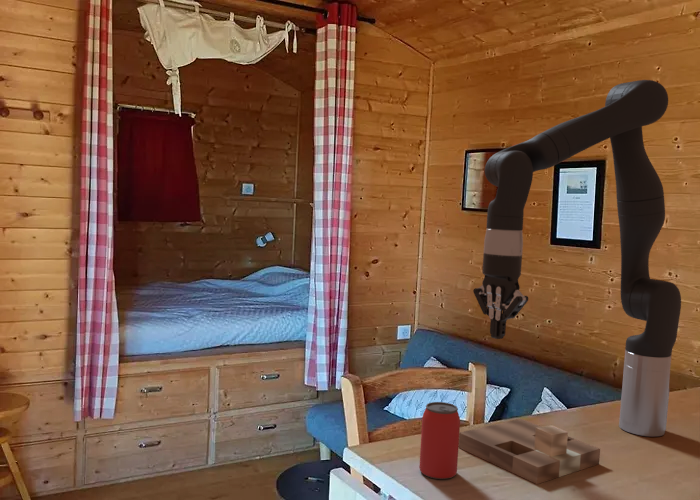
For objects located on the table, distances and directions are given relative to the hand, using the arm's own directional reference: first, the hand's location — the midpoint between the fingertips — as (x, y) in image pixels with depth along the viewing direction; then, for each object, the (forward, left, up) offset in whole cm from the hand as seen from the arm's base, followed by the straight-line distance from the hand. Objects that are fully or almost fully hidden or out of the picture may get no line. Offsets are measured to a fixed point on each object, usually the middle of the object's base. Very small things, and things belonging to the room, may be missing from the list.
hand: (497, 338), depth 134 cm
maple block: (+1, +15, -18) cm, 24 cm away
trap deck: (0, +10, -21) cm, 23 cm away
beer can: (+21, +7, -21) cm, 31 cm away
